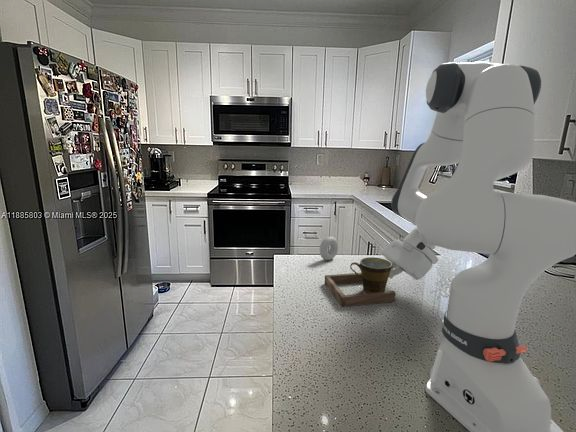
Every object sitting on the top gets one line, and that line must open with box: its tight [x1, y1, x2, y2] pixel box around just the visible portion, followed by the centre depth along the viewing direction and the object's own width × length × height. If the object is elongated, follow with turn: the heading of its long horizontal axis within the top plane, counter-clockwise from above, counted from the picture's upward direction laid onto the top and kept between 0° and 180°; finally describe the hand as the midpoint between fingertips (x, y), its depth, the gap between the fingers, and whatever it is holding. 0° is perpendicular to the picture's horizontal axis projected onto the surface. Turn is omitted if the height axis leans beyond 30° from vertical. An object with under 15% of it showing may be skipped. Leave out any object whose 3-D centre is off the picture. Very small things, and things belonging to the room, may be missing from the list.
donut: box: [319, 236, 339, 261], centre depth 131 cm, size 10×4×10 cm, turn 131°
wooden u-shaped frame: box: [324, 272, 396, 307], centre depth 103 cm, size 16×17×3 cm
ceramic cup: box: [349, 256, 392, 293], centre depth 103 cm, size 13×10×10 cm
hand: (387, 275), depth 104 cm, fingers closed
